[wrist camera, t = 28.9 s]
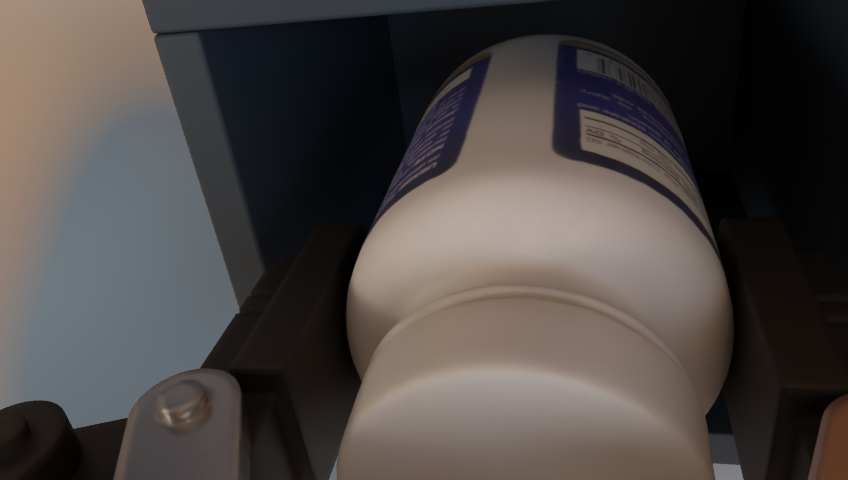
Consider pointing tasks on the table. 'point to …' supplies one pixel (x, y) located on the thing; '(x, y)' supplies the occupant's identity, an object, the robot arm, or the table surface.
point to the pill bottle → (539, 283)
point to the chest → (447, 50)
